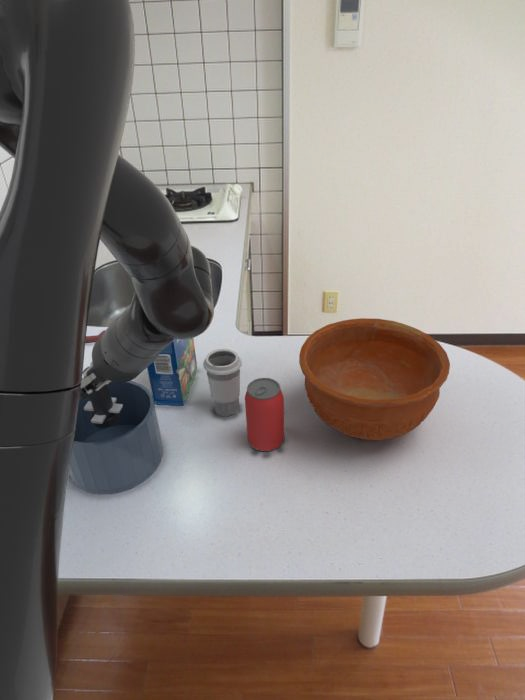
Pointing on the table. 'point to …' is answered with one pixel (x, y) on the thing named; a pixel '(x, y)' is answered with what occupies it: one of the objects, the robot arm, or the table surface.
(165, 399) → the blue food package
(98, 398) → the dark grey cylinder
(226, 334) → the table surface
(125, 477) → the bowl
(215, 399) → the cup
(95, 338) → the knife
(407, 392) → the bowl
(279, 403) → the beer can
